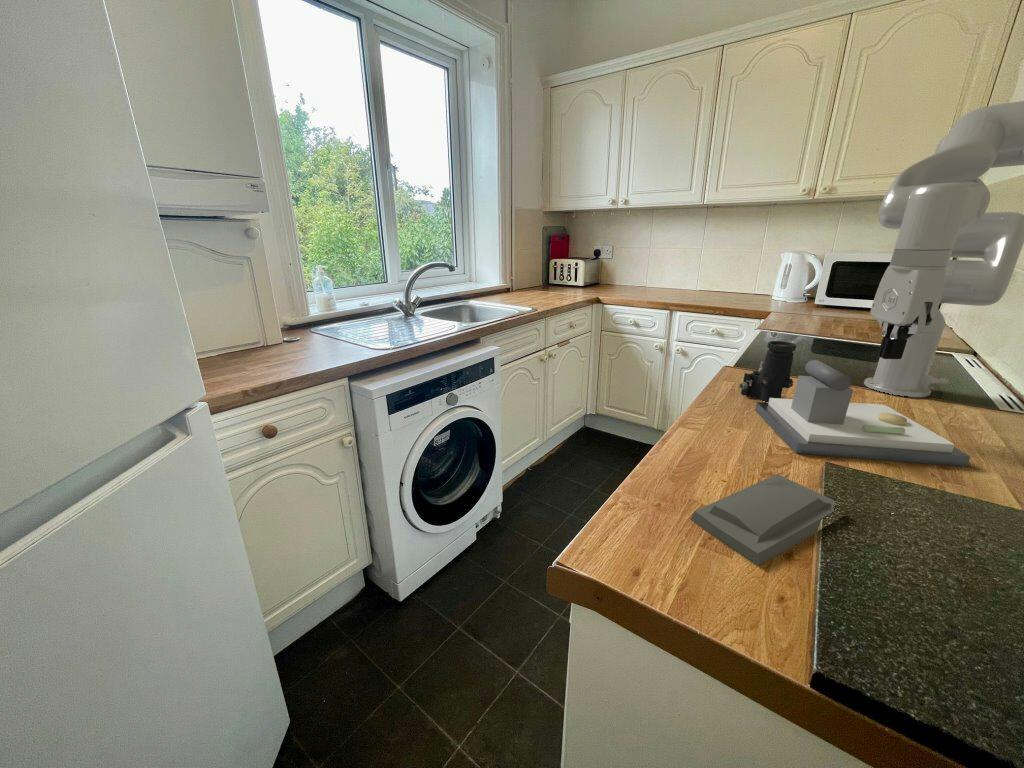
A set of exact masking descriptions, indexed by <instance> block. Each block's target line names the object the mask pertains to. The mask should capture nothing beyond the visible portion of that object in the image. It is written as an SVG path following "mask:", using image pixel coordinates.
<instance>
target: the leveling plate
mask: <svg viewBox="0 0 1024 768" xmlns="http://www.w3.org/2000/svg"><path fill="white" fill-rule="evenodd" d="M804 370H805V372H806V373H807V374H809V375H798V377H797V382H796V386H795V390H794V394H793V398H769V403H768V404H769V405H770V406H771V407H772V408H773V409H774V410H775V411H776V412H777V413H778V414H779V415H780V416H781V417H782V418H783V419H784V420H785V421H787V422H788V423H789V424H790V425H791V426H792V427H793V428H794V429H795V430H796V431H797V432H798V433H799V434H800V435H801V436H802V437H803V438H805V439H806V440H807V441H808V442H819V443H832V444H845V445H859V446H872V447H885V448H899V449H912V450H925V451H939V452H952V451H953V448H954V447H955V446H956V445H955V444H954V443H953V442H951V441H949V440H948V439H946V438H944V437H942V436H941V435H940V434H937V433H935V432H933V431H932V430H930V429H928V428H927V427H924V426H923V425H921V424H919V423H918V422H916V421H914V420H913V419H911V418H909V417H907V416H905V415H904V414H902V413H900V412H898V411H897V410H895V409H893V408H892V407H889V406H888V405H886V404H881V403H879V404H876V403H863V402H862V403H861V402H851V399H852V395H853V391H854V389H853V388H852V387H851V384H852V379H851V377H850V376H848V375H846V374H844V373H842V372H840V371H839V370H838V369H835V368H833V367H831V366H829V365H828V364H826V363H824V362H822V361H820V360H817V359H811V360H809V361H808V362H807V363H806V364H805V367H804Z"/></svg>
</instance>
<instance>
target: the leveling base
mask: <svg viewBox="0 0 1024 768" xmlns="http://www.w3.org/2000/svg"><path fill="white" fill-rule="evenodd" d="M754 411H755V412H756V413H757V415H759V417H760V418H762V420H763V421H764V422H766V424H767V425H768V426H769V427H770V428H771V429H772V430H773V431H774V432H775V433H776V434H777V435H778V436H779V438H781V440H782V441H783V442H784V443H785V444H786V445H787V446H788V447H789V448H790V449H791V450H792V451H793V452H794V453H795V454H798V455H813V456H815V455H816V456H824V457H836V458H837V457H839V458H849V459H861V460H863V459H864V460H874V461H875V460H876V461H890V462H898V463H900V462H901V463H912V464H913V463H914V464H926V465H937V466H950V467H961V468H962V467H963V468H967V466H968V464H969V461H970V459H971V455H969V454H967V453H966V452H964V451H963V450H960V449H959V448H956V447H955V446H954V448H953V451H952V452H939V451H925V450H912V449H899V448H885V447H872V446H859V445H845V444H832V443H819V442H808V441H807V440H806V439H805V438H803V437H802V436H801V435H800V434H799V433H798V432H797V431H796V430H795V429H794V428H793V427H792V426H791V425H790V424H789V423H788V422H787V421H785V420H784V419H783V418H782V417H781V416H780V415H779V414H778V413H777V412H776V411H775V410H774V409H773V408H772V407H771V406H770V405H769V404H768V403H766V402H763V401H756V404H755V408H754Z"/></svg>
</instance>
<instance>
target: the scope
mask: <svg viewBox="0 0 1024 768" xmlns="http://www.w3.org/2000/svg"><path fill="white" fill-rule="evenodd" d="M796 349H797V344H795V343H792V342H788V341H783V340H782V341H781V340H773V341H768V343H767V351H766V354H765V357H764V361H760V365H759V368H758V370H752V373H748V372H745V373H744V374H743V375H744V376H743V381H742V382H740V383H739V384H738V388H739V389H740V390H741V391H740V395H741V394H742V396H744V395H746V396H745V397H751V396H753V397H752V398H754V397H755V398H754V399H756V398H758V399H757V400H759V399H761V400H762V401H761V400H760V401H761V402H763V401H765V402H769V398H780V399H782V394H783V393H782V392H783V389H784V388H785V389H790V388H791V387H793V385H794V380H793V378H791V371H792V364H793V360H794V352H795V351H796ZM748 395H750V396H748Z"/></svg>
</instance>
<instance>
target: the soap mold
mask: <svg viewBox="0 0 1024 768" xmlns="http://www.w3.org/2000/svg"><path fill="white" fill-rule="evenodd" d="M834 500H835V499H833V500H832V498H830V497H828V496H825V495H823V494H822V493H819V492H817V491H815V490H813V489H810V488H809V487H807V486H804V485H802V484H800V483H799V482H798V483H797V482H796V481H793V480H791V479H789V478H788V477H785V476H783V475H781V474H778V473H777V474H775V475H772V476H769V477H767V478H766V479H763V480H761V481H758V482H757V483H754V484H752V485H750V486H748V487H747V486H746V487H745V488H743V489H741V490H739V491H736V492H734V493H732V494H729V495H726V496H724V497H722V498H720V499H718V500H716V501H714V502H711V503H709V504H707V505H704V506H702V507H700V508H699V509H696V510H694V511H693V513H692V515H691V517H690V518H689V521H692V522H693V523H694V524H695V525H697V526H698V527H700V528H701V529H703V530H704V531H706V532H707V533H709V534H710V535H712V536H713V537H714V538H716V539H718V540H719V541H720V542H722V543H723V544H725V545H727V546H728V547H730V548H731V549H732V550H733V551H735V552H737V553H738V554H739V555H741V556H742V557H744V558H745V559H747V560H748V561H750V562H751V563H753V564H754V565H756V567H759V566H761V565H763V564H764V563H767V562H768V561H770V560H772V559H773V558H775V557H777V556H778V555H780V554H782V553H784V552H786V551H787V550H789V549H791V548H792V547H794V546H796V545H798V544H799V543H802V542H803V541H805V540H806V539H808V538H810V537H812V536H814V535H815V534H817V533H818V532H817V531H818V527H819V524H820V521H821V520H822V519H823V518H824V517H826V516H827V515H829V514H830V513H832V512H834V511H836V510H837V509H838V508H837V509H835V510H834V508H835V507H834V506H835V505H834V504H836V503H835V502H837V503H839V504H842V503H841V502H840V501H837V500H835V501H834ZM839 504H836V505H839ZM833 505H834V506H833ZM839 506H840V505H839ZM833 507H834V508H833Z"/></svg>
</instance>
